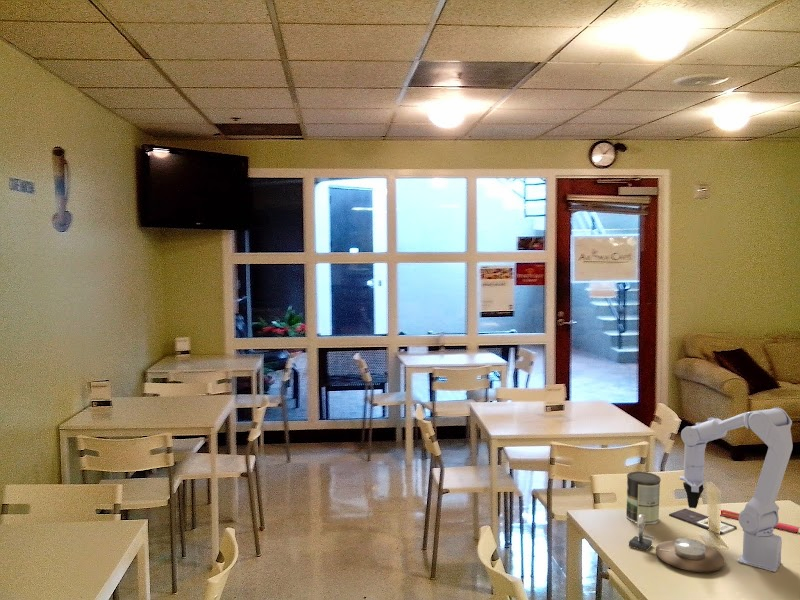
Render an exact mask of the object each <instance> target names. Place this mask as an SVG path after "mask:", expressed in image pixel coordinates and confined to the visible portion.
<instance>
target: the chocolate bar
mask: <svg viewBox="0 0 800 600" xmlns="http://www.w3.org/2000/svg"><path fill="white" fill-rule="evenodd" d="M668 515H669V517H672V518H675V519H677V520H680V521H682V522H684V523H685V522H686V523H688V524H691V525H693V526H696V527H698V528H701V529H705V530H707V531H709V530H708V529H709V527H708V517H709V515H705V514H702V513H699V512H696V511H694V510H692V509H688V508H683V509H680V510H677V511H674V512H670V513H669V514H668ZM720 521H721V523H720V534H719V535H720V536H721V535H723V534H726V533H728V532H731V531H733V530H736V529H737V526H736V525H735V524H734V525H733V524H731V523H728V522H726V521H722V520H720Z"/></svg>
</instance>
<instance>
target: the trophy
mask: <svg viewBox="0 0 800 600" xmlns="http://www.w3.org/2000/svg"><path fill="white" fill-rule="evenodd" d="M645 525H646V524H645V515H642V514H640V515H639V516H638V519H637V523H636V526H637V528H638V536H637V535H635V536H633V537H632V538H631V539H630V540H629V541H628V547H629V546H631V547H630V548H633V547H635V548H634V549H636V548H638V549H637V550H640V549H642V550H641V551H643V550H645V551H644V552H646V550H647V549H648V548H649V547H650V546H651V545H652V546H653V540H655V536H652V535H649V534H645V533H644V528H645ZM647 538H648V539H647ZM652 546H651V547H652ZM651 547H650V548H651ZM650 548H649V549H650ZM649 549H648V550H649Z"/></svg>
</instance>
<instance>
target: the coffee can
mask: <svg viewBox="0 0 800 600" xmlns="http://www.w3.org/2000/svg"><path fill="white" fill-rule="evenodd" d="M626 478H627V479H626V481H627V482H626V507H625V508H626V510H625V511H626V512H625V513H626V514H625V517H627V518H628V519H629V521H630V520H631V521H630V522H632V521H633V523H635V522H637V519H638V516H639V515H640V514H642V515H645V525H646V524H651V525H656V524H657V523H659V521H660V518H659V517H660V496H661V495H660V494H661V493H660V492H661V490H660V489H661V481H662V480H661V479H662V478H661V477H660V476H659V475H657V474H656V473H651V472H647V471H631V472H628V473H627V474H626ZM627 518H626V519H627ZM628 519H627V520H628Z"/></svg>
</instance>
